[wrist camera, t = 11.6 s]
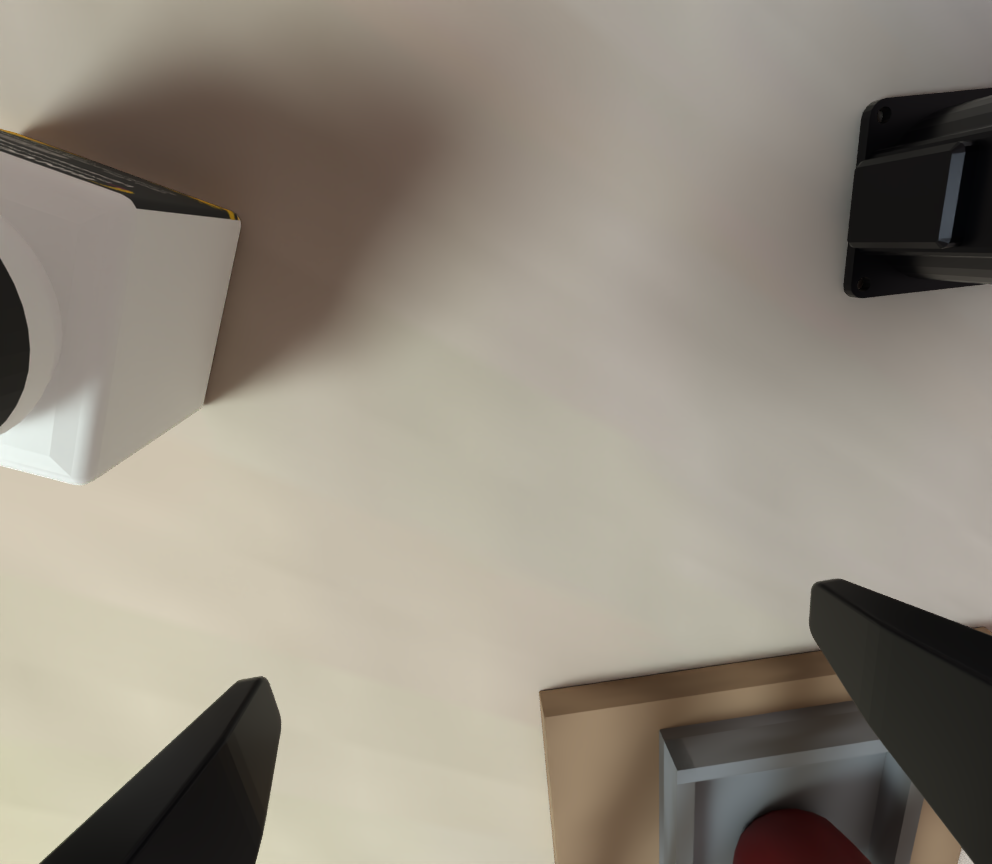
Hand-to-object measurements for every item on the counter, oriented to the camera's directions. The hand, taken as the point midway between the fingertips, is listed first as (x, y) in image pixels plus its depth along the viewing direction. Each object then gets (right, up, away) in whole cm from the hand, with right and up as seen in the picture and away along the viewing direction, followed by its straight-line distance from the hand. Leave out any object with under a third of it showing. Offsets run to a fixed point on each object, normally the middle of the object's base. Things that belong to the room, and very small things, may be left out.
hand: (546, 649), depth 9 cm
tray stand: (+13, -16, +20) cm, 29 cm away
